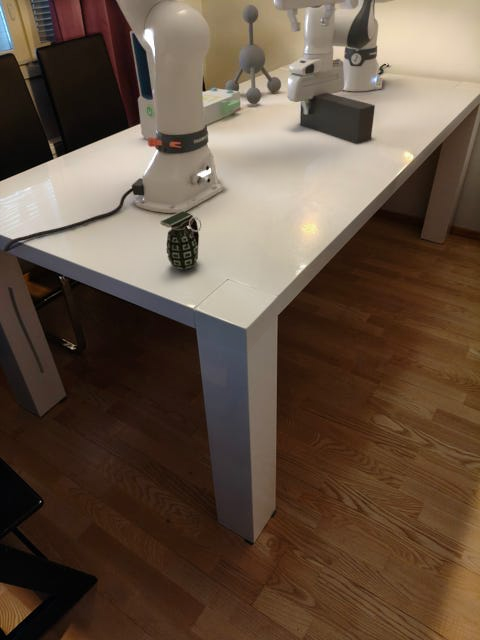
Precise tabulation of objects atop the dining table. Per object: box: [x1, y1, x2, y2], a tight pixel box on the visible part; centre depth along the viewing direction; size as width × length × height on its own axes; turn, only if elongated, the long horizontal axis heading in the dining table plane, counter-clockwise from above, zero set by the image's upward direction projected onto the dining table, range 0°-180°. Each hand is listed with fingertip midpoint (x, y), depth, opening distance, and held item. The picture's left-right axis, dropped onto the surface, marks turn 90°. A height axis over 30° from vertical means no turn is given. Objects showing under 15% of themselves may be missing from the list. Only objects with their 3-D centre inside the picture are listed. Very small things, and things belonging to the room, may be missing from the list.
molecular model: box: [224, 4, 282, 105], centre depth 179 cm, size 24×22×30 cm
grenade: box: [159, 211, 202, 271], centre depth 88 cm, size 7×6×10 cm
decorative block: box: [202, 87, 241, 126], centre depth 168 cm, size 26×6×20 cm
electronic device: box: [129, 29, 158, 140], centre depth 143 cm, size 12×8×30 cm, turn 47°
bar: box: [299, 93, 376, 144], centre depth 147 cm, size 26×6×10 cm, turn 34°
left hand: (310, 28), depth 118 cm, fingers open, 8 cm apart
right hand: (315, 111), depth 153 cm, fingers closed on bar, 6 cm apart
